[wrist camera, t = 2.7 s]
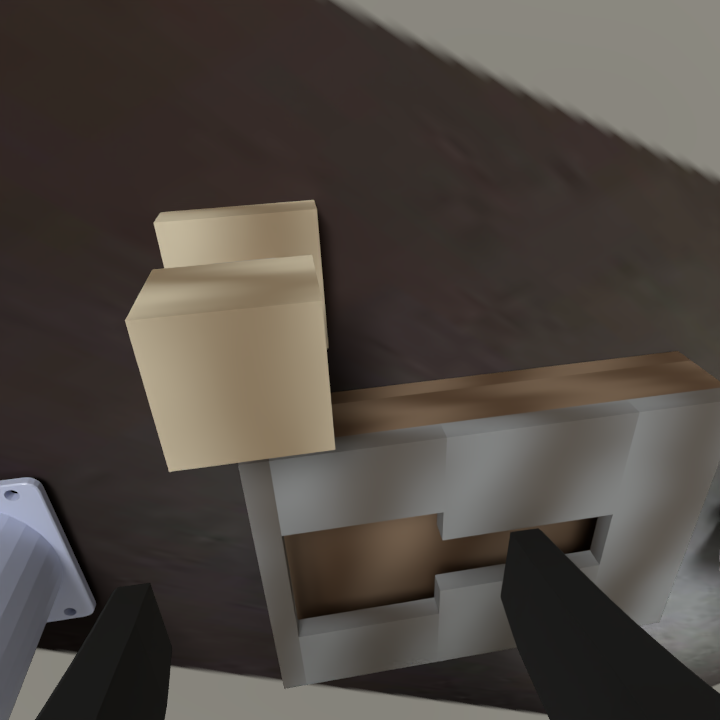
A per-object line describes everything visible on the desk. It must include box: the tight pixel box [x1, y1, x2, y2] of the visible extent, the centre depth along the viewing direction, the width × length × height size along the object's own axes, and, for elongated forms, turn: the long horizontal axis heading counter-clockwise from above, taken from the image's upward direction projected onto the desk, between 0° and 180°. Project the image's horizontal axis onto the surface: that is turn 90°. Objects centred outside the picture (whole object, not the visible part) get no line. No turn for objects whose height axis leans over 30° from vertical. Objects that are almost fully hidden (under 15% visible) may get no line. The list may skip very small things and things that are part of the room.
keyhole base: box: [238, 351, 720, 688], centre depth 23 cm, size 18×13×4 cm
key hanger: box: [125, 200, 335, 472], centre depth 15 cm, size 5×5×7 cm
